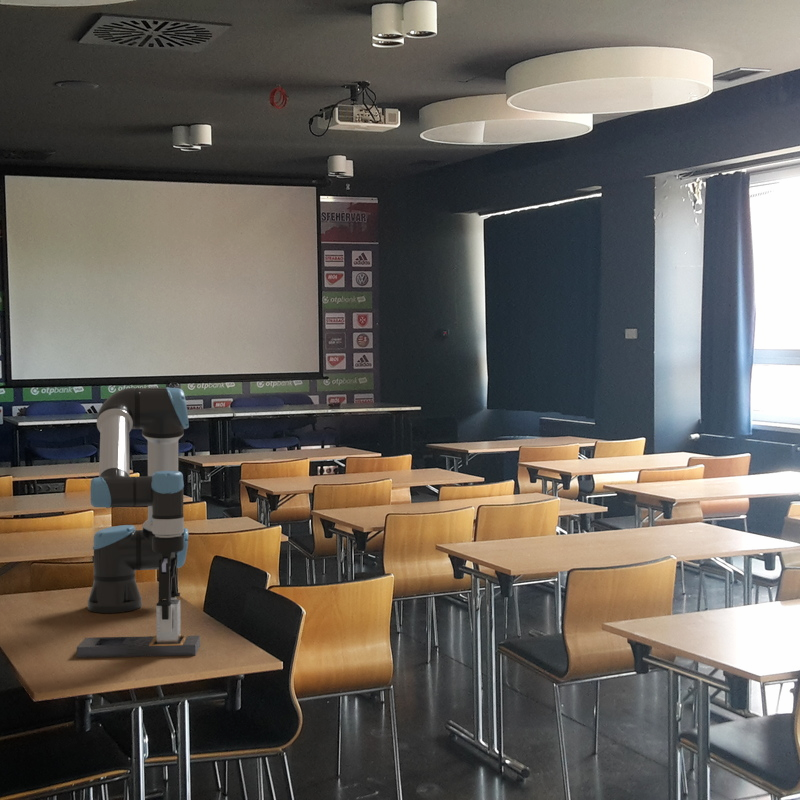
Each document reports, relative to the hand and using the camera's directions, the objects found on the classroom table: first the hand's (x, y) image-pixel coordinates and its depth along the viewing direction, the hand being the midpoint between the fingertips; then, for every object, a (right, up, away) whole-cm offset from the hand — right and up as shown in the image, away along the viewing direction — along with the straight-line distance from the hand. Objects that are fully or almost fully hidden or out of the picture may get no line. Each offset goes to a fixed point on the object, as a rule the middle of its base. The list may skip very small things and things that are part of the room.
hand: (168, 627), depth 252 cm
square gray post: (0, -6, 0) cm, 6 cm away
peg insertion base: (-7, -6, 0) cm, 9 cm away
